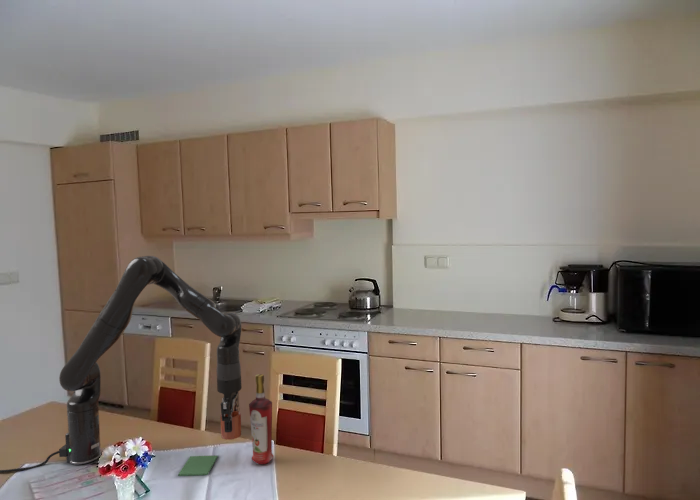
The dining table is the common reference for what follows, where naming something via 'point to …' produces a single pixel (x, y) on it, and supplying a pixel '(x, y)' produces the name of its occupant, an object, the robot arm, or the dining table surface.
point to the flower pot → (235, 427)
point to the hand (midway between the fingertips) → (231, 427)
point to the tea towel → (198, 465)
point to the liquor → (261, 424)
